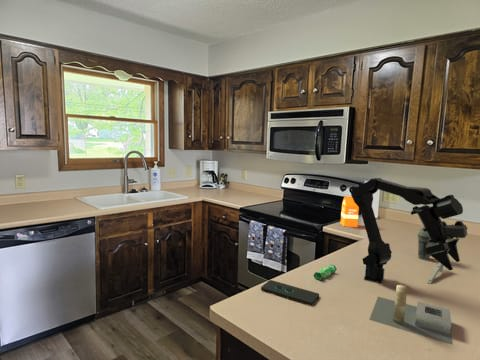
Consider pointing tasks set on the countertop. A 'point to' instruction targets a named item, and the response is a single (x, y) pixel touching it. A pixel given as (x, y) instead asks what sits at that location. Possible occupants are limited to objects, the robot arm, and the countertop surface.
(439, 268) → the caliper
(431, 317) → the square peg hole block
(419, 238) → the beverage cup
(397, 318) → the pin
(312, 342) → the countertop surface
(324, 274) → the candy
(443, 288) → the countertop surface
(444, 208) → the robot arm
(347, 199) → the orange juice
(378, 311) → the mat
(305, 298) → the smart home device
